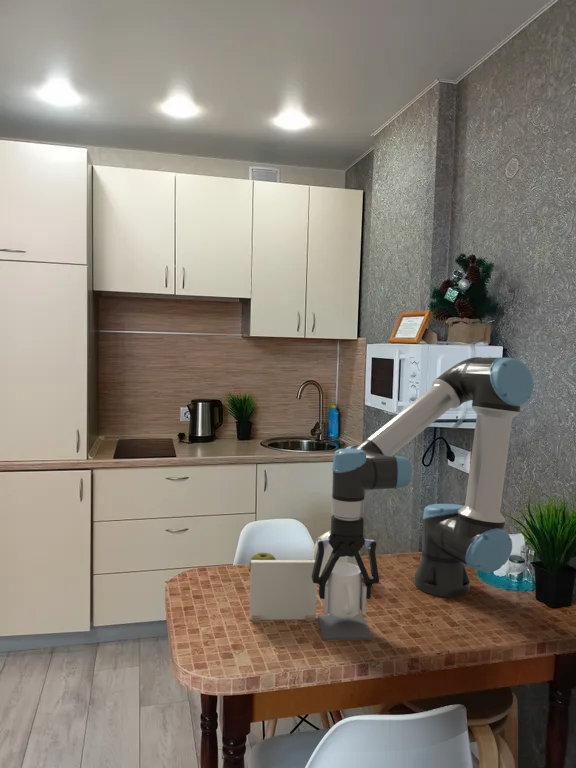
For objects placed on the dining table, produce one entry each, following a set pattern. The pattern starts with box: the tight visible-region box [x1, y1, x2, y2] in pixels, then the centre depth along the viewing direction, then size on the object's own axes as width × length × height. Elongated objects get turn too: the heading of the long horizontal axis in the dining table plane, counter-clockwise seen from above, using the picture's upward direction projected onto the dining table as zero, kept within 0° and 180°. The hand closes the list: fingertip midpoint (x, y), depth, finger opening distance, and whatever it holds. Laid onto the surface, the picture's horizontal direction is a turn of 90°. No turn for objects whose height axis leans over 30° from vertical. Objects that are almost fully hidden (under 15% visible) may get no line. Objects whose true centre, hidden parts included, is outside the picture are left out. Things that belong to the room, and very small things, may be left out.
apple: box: [249, 552, 277, 572], centre depth 161 cm, size 8×8×7 cm
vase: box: [312, 530, 361, 577], centre depth 163 cm, size 14×14×13 cm
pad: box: [317, 614, 373, 641], centre depth 133 cm, size 11×11×1 cm
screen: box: [249, 559, 318, 623], centre depth 137 cm, size 16×4×14 cm, turn 94°
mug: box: [327, 563, 362, 619], centre depth 133 cm, size 12×8×10 cm
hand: (344, 611), depth 133 cm, fingers closed on mug, 8 cm apart
